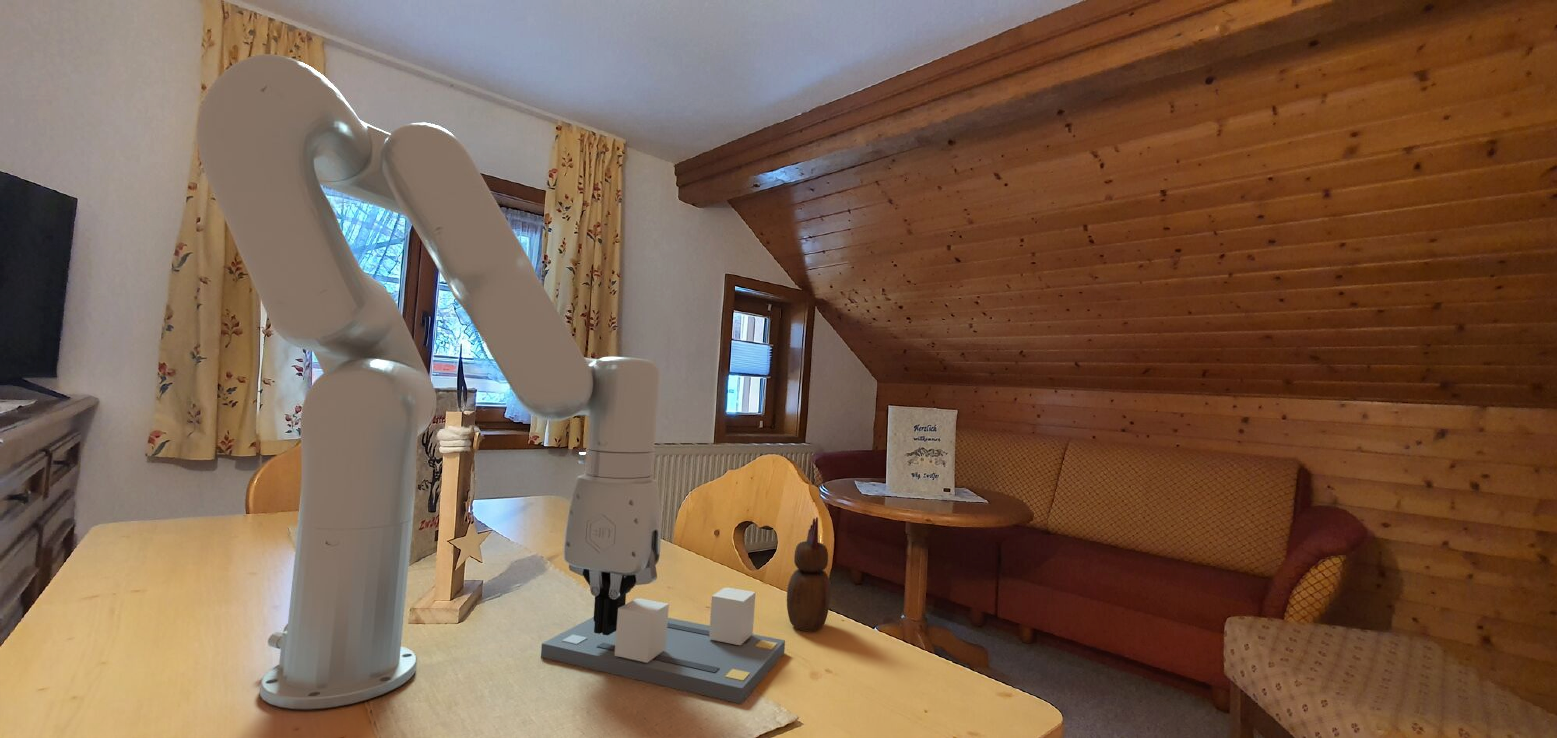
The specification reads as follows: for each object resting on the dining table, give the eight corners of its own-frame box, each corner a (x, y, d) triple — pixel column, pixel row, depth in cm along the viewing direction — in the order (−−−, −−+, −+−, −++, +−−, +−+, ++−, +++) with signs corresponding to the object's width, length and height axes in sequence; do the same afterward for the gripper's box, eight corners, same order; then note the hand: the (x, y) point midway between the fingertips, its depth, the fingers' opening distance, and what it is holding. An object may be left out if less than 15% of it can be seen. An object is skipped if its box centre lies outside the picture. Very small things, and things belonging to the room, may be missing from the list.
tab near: (614, 655, 68) (618, 608, 68) (634, 642, 71) (637, 597, 72) (647, 662, 66) (650, 614, 67) (665, 649, 70) (668, 603, 70)
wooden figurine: (824, 638, 81) (832, 521, 82) (781, 632, 82) (788, 516, 83) (831, 621, 88) (837, 512, 89) (790, 615, 89) (797, 508, 90)
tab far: (708, 639, 74) (711, 595, 74) (722, 628, 78) (725, 587, 78) (740, 645, 73) (743, 601, 73) (752, 633, 76) (755, 592, 77)
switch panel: (540, 657, 70) (542, 642, 70) (611, 618, 83) (612, 606, 83) (741, 703, 62) (742, 687, 62) (784, 652, 76) (785, 639, 76)
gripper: (542, 463, 70) (530, 630, 69) (662, 475, 66) (650, 654, 65) (583, 458, 77) (572, 609, 76) (693, 469, 73) (683, 630, 72)
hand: (608, 630), depth 71 cm, fingers closed
